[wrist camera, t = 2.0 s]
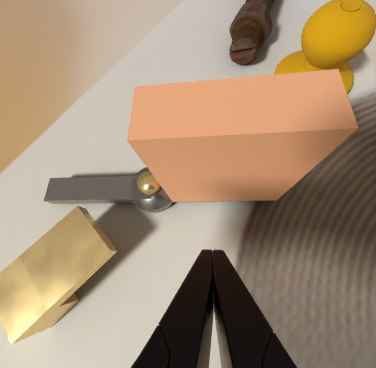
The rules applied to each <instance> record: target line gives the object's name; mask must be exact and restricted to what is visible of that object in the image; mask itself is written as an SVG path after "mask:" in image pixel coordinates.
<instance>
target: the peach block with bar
mask: <svg viewBox="0 0 376 368" xmlns="http://www.w3.org/2000/svg"><path fill="white" fill-rule="evenodd" d="M357 129H358V125H357V122H356V119H355V116H354V113H353V110H352V107H351V104H350V101H349V98H348V95H347V93H346V90H345V87H344V84H343V81H342V78H341V75H340V72H339V69H333V70H322V71H310V72H299V73H287V74H276V75H265V76H253V77H242V78H230V79H219V80H208V81H196V82H185V83H174V84H162V85H151V86H139V87H135V91H134V98H133V105H132V112H131V118H130V125H129V132H128V139H127V141H128V142H129V144H130V145H131V146H132V148H133V149H134V150H135V152H136V153H137V154H138V156H139V157H140V158H141V160H142V161H143V163H144V164H145V165H146V168H144V169H142V170H141V171H139V172H138V173H137V174H136V175H135V176H107V177H75V178H50V181H49V184H48V188H47V191H46V195H45V198H44V201H46V202H49V203H52V204H74V203H135V204H136V205H138V206H139V207H141V208H142V209H143V210H145V211H148V212H161V211H163V210H165V209H167V208H168V207H170V206H171V205H172V204H173V202H220V201H273V200H278V199H279V198H280V197H281V196H282V195H284V194H285V193H286V192H287V191H288V190H289V189H290V188H291V187H293V186H294V185H295V184H296V183H297V182H298V181H299V180H300V179H302V178H303V177H304V176H305V175H306V174H307V173H308V172H310V171H311V170H312V169H313V168H314V167H315V166H316V165H317V164H319V163H320V162H321V161H322V160H323V159H324V158H325V157H327V156H328V155H329V154H330V153H331V152H332V151H333V150H334V149H336V148H337V147H338V146H339V145H340V144H341V143H342V142H344V141H345V140H346V139H347V138H348V137H349V136H350V135H351V134H353V133H354V132H355V131H356V130H357ZM146 171H150V172H151V173H152V175H153V176H154V177H155V179H156V180H157V181H158V183H159V184H160V185H161V187H162V189H161V191H160V192H159V193H158V194H157V195H155V196H147V195H145V194H144V193H143V192H142V191H141V190H140V189H139V188H138V186H137V180H138V177H139V176H140V175H141V174H142V173H144V172H146Z"/></svg>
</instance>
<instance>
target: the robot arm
mask: <svg viewBox="0 0 376 368" xmlns="http://www.w3.org/2000/svg"><path fill="white" fill-rule="evenodd" d="M213 293H214V297H213ZM213 311H214V313H215V321H216V329H217V336H218V344H219V351H220V359H221V366H222V368H297V367H296V365H295V364H294V362H293V361H292V359H291V358H290V356H289V355H288V353H287V352H286V350H285V348H284V347H283V345H282V344H281V342H280V341H279V339H278V337H277V336H276V334H275V333H273V330H272V328H271V326H270V325H269V323H268V322H267V320H266V318H265V317H264V315H263V313H262V312H261V310H260V309H259V307H258V305H257V304H256V302H255V301H254V299H253V297H252V296H251V294H250V293H249V291H248V289H247V288H246V286H245V285H244V283H243V281H242V280H241V278H240V277H239V275H238V273H237V272H236V270H235V269H234V267H233V265H232V264H231V262H230V261H229V259H228V257H227V256H226V254H225V253H224V251H223V250H213V255H212V250H202V251H201V252H200V254H199V256H198V257H197V259H196V261H195V263H194V264H193V266H192V268H191V269H190V271H189V273H188V274H187V276H186V278H185V280H184V281H183V283H182V285H181V286H180V288H179V290H178V292H177V293H176V295H175V297H174V298H173V300H172V302H171V303H170V305H169V307H168V309H167V310H166V312H165V314H164V315H163V317H162V319H161V320H160V322H159V326H157V327H156V329H155V331H154V332H153V334H152V336H151V337H150V339H149V341H148V342H147V344H146V345H145V347H144V349H143V350H142V352H141V353H140V355H139V356H138V358H137V359H136V361H135V362H134V364H133V365H132V366H131V368H209V358H210V346H211V335H212V324H213Z"/></svg>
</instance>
